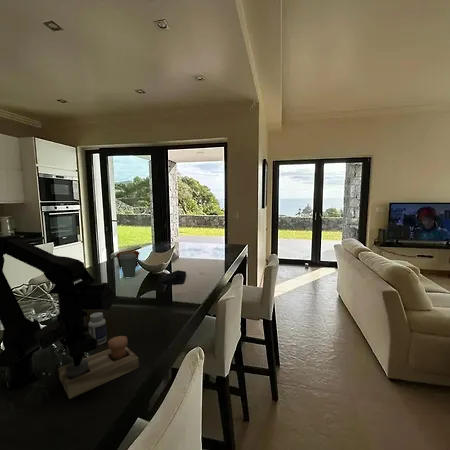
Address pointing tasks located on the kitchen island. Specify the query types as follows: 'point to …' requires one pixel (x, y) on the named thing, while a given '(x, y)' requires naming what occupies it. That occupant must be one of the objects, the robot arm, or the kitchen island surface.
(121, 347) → the terracotta plug
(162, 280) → the dark slate chunk
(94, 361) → the plug board
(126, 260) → the disposable coffee cup
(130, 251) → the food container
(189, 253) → the kitchen island surface
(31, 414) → the kitchen island surface
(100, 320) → the pill bottle
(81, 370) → the plug
